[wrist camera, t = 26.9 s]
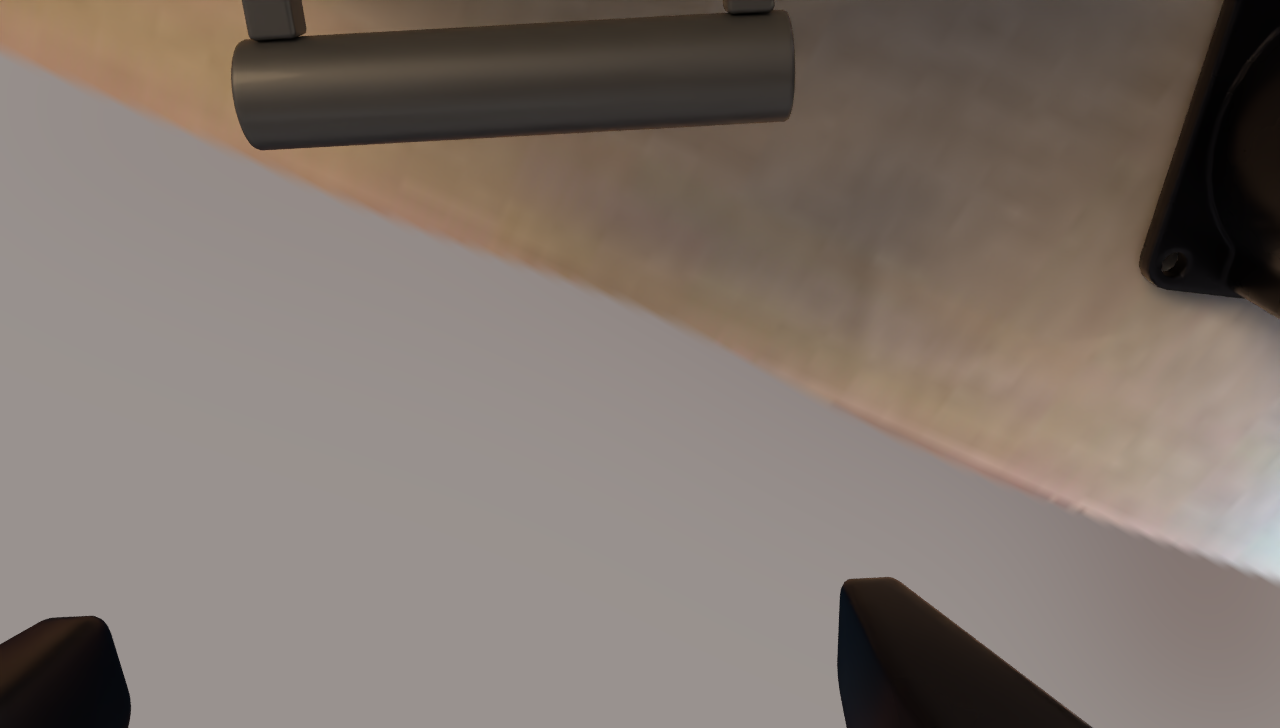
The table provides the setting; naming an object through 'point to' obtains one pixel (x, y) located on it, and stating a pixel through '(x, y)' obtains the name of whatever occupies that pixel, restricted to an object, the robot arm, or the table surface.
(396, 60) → the drawer
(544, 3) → the table surface
